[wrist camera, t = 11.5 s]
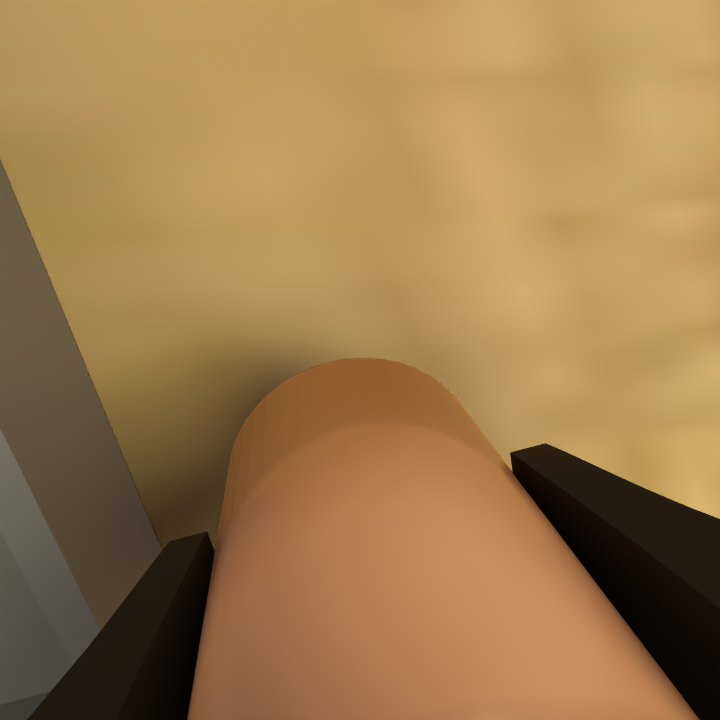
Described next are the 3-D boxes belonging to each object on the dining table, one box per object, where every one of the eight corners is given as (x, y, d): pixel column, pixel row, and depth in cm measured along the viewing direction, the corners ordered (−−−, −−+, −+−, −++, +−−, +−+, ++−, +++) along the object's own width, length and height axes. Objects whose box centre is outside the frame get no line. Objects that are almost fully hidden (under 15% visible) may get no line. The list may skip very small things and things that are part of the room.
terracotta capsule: (493, 545, 12) (746, 995, 6) (266, 606, 12) (251, 1155, 5) (460, 329, 10) (772, 615, 4) (193, 395, 10) (37, 824, 4)
